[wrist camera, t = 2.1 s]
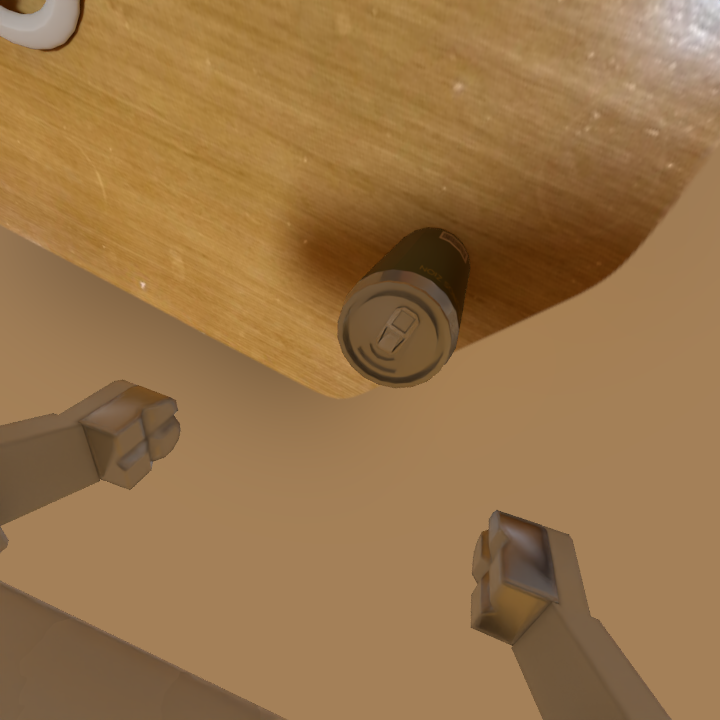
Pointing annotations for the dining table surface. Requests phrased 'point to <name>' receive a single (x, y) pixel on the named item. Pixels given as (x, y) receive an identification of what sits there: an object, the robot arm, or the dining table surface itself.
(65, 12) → the mug
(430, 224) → the dining table surface
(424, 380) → the beer can
